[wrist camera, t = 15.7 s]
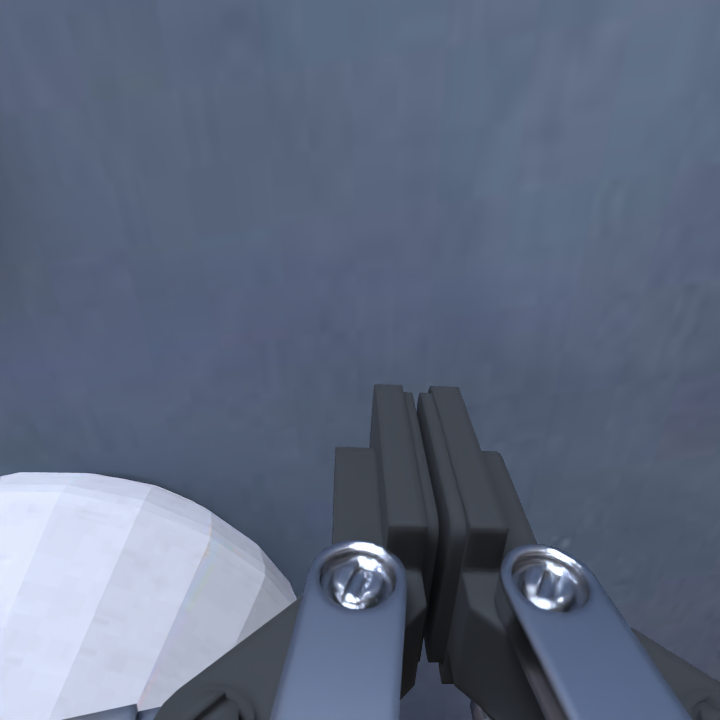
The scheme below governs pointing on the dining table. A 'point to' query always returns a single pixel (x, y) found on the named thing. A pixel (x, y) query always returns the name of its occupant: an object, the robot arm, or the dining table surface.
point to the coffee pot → (118, 593)
